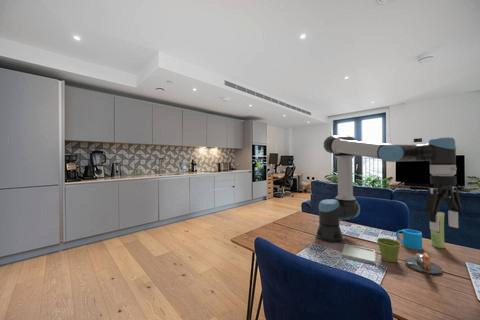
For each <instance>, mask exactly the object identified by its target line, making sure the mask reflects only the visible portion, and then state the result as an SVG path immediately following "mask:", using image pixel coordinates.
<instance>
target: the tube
mask: <svg viewBox="0 0 480 320" xmlns="http://www.w3.org/2000/svg"><path fill="white" fill-rule="evenodd" d="M437 214H438V215H439V231H435V230H432V229H430V239H431V246H433V247H434V248H440V249H444V248H445V212H442V211H438V213H437Z"/></svg>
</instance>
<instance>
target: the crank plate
mask: <svg viewBox="0 0 480 320" xmlns="http://www.w3.org/2000/svg"><path fill="white" fill-rule="evenodd" d="M404 263H405V265H406V266H407V267H409V268H410V269H412V270H414V271H416V272H420V273H423V274H427V275H435V276H438V274H439V275H441V274H442V273H443V271H442V270H443V269H442V267H441V266H440V265H438V264H437V263H435V262H433V261H430V269H431V271H425V270H423V267H422V265H419V264H417V263H416V257H406V258H405V259H404Z"/></svg>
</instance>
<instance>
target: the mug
mask: <svg viewBox="0 0 480 320" xmlns="http://www.w3.org/2000/svg"><path fill="white" fill-rule="evenodd" d="M399 233H402V238H400V236H399ZM395 236H396V238H397V240H398V241H399V242H400V243H402V245H403V246H404V247H406V248H408V249H413V250H423V233H422V231H419V230H415V229H412V228H411V229H410V228H404V229H401V230H400V229H399V230H397V231H396V232H395Z"/></svg>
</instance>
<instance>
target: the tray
mask: <svg viewBox="0 0 480 320" xmlns="http://www.w3.org/2000/svg"><path fill="white" fill-rule="evenodd" d="M341 257H342V258H346V259H350V260H354V261H360V262H363V263H367V264H370V265H371V264H372V265H376V250H375V249H373V248H368V247H363V246H358V245H354V244H353V245H352V244H349V243H348V244H347V243H344V246H343V248H342V252H341Z"/></svg>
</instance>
